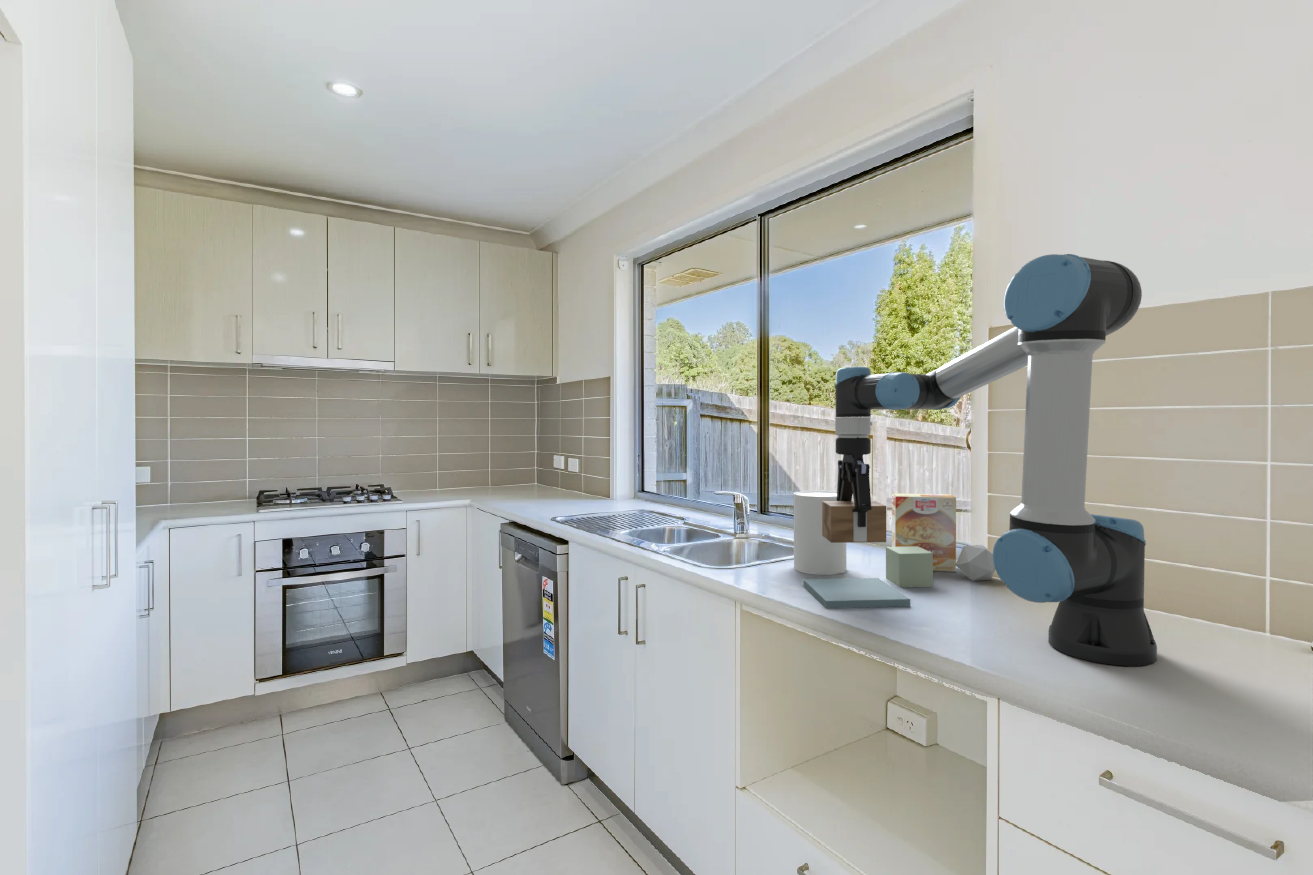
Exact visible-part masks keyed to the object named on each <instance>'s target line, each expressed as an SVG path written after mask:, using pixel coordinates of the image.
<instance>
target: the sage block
mask: <svg viewBox="0 0 1313 875" xmlns="http://www.w3.org/2000/svg"><path fill="white" fill-rule="evenodd" d="M885 579H886V580H887V581H888V582H890V583H891V584H894V585H895V586H896V587H898V588H917V587H920V588H921V587H925V588H926V587H928V588H929V587H933V586H934V585H933V583H934V580H933V579H934V571H933V553H931V552H929V551H927V550H925V549H923V548H920V547H918V546H907V547H892V546H885Z"/></svg>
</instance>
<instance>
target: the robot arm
mask: <svg viewBox="0 0 1313 875" xmlns="http://www.w3.org/2000/svg"><path fill="white" fill-rule="evenodd" d="M1142 294H1143V293H1142V287H1141V282H1140V280H1139V279H1138V277H1137V275H1136V274H1135V273H1134V272H1133V271H1132V270H1131V269H1129V268H1128V267H1127V266H1125V265H1123V264H1121V263H1119V262H1115V261H1110V260H1104V259H1103V260H1101V259H1095V258H1089V257H1085V256H1084V257H1083V256H1079V255H1076V254H1072V253H1067V254H1065V253H1064V254H1055V253H1054V254H1052V253H1051V254H1046V255H1042V256H1041V255H1040V256H1038V257H1036V258H1033V259H1032V260H1029V261H1028V262H1027V263H1025V264H1024V265H1023V266H1022V267H1021V268H1020V269H1019V270H1018V271H1017V273H1015V274H1014V275H1013V277H1012V278H1011V280H1010V281H1009V283H1008V285H1007V287H1006V290H1005V293H1004V297H1003V308H1004V309H1003V310H1004V313H1005V315H1006V317H1007V319H1008V320H1010V323H1011V324H1012V325H1013V326H1014V327H1011V328H1010V329H1008V330H1006V331H1004V332H1001V333H1000V334H999V335H997V336H995V337H993V338H992V339H990V340H988V341H986V342H984V343H982V344H981V345H977V346H976V347H975V348H973V349H971V350H968V351H967V352H965V353H964V354H961V355H959V356H958V357H956V358H954V359H952V360H951V361H949V362H947V363H944V364H943V365H941V366H940V367H938V368H936V369H934V370H932V371H930V372H928V373H925V374H923V373H909V372H901V371H898V372H897V371H893V372H892V371H891V372H888V373H879V374H871V368H869V367H867V366H849V367H848V366H847V367H846V366H845V367H840V368H838V369H837V370H836V373H835V385H834V390H835V392H834V393H835V396H834V397H835V417H834V420H835V421H834V422H835V423H834V427H835V428H834V433H835V435H836V436H837V437H836V439H835V453H836V454H837V455H843V457H842V459H838V461H837V470H838V471H837V472H838V473H837V487H836V492H837V501H854V505H855V509H853V510H852V512H853V541H854V542H857V543H868V542H867V512H868V510H871V501H872V499H871V498H872V497H871V496H872V495H871V485H870V484H871V483H870V481H871V480H870V468H871V466H870V464H869V463H865V462H864V461H865V460H864V456H865V455H869V454H871V452H872V451H871V450H872V448H871V446H872V444H871V441H872V440H871V438H870V437H869V435H871V426H872V425H873V421H871V417H872V416H871V415H872V413H871V412H872V410H883V411H884V410H890V411H897V410H932V411H933V410H935V411H939V410H943V409H951V407H954V406H955V405H956V404H957V403H958V401H959V400H960V398H961V397H963V396H965V395H967V394H969V393H971V392H973V391H975V390H978V389H980V388H982V387H984V386H986V385H989V384H991V383H993V382H996V381H998V380H1000V379H1002V378H1004V377H1006V376H1008V375H1010V374H1013V373H1014V372H1018V370H1021V369H1023V368H1025V367H1027V371H1026V373H1027V374H1026V390H1025V391H1026V394H1025V395H1026V396H1025V416H1024V439H1023V458H1022V480H1021V481H1022V483H1021V484H1022V485H1021V501H1020V503H1019V504H1018V505H1016V507H1015V508H1013V509H1011V511H1010V513H1009V525H1008V526H1009V529H1008V530H1006V531H1005V532H1004V533H1003V534H1001V536H1000V537H999V538H997V539H996V541H995V543H994V546H993V549H992V554H993V562H994V566H995V569H996V570H995V572H996V574H997V576H998V577H999V580H1001V581H1002V582H1003V583H1004V584H1005V585H1006V588H1007V589H1008V590H1009V591H1010V592H1012V593H1013V594H1014V595H1016V596H1017V597H1019V598H1021V599H1023V600H1024V601H1029V602H1032V603H1038V604H1041V603H1042V604H1043V603H1044V604H1045V603H1058V606H1057V608H1056V610H1055V612H1054V615H1053V618H1052V621H1051V624H1050V625H1049V627H1048V636H1047V637H1048V644H1049V645H1050V646H1051V647H1052V648H1054V649H1056V650H1057V651H1058V652H1061V653H1062V654H1063V653H1064V654H1065V655H1069V656H1072V657H1074V658H1077V659H1081V660H1084V661H1085V660H1086V661H1090V662H1093V663H1100V664H1104V665H1113V666H1125V667H1126V666H1129V667H1137V666H1146V665H1152V664H1153V663H1155V662H1156V661H1157V660H1158V646H1157V642H1156V640H1155V639H1154V635H1153V632H1152V629H1151V626H1150V624H1149V621H1148V617H1147V614H1146V612H1145V606H1144V605H1145V602H1144V601H1145V560H1146V559H1145V552H1146V550H1145V549H1146V545H1147V543H1146V542H1147V541H1146V539H1145V529H1144V525H1143V524H1142V523H1141V522H1140V521H1139V520H1136V519H1131V518H1123V517H1118V516H1117V517H1116V516H1115V517H1114V516H1109V515H1100V514H1092V513H1089V512H1088V511H1087V510H1086V507H1085V504H1086V503H1085V501H1086V485H1087V482H1086V480H1087V467H1088V465H1087V464H1088V446H1089V428H1090V425H1089V424H1090V411H1091V390H1092V372H1093V371H1092V370H1093V355H1094V353H1095V352H1096V351H1098V350H1099V349H1100V348H1101V347H1102V346H1104V344H1106V336H1108V335H1111V334H1113V333H1115V332H1117V331H1118V330H1120V329H1121V328H1123V327H1124V326H1125V325H1127V324H1128V323H1130V321H1131V320H1132V319H1133V317H1134V316H1135V315H1136V313H1137V312H1138V310H1139V307H1140V305H1141V304H1142V303H1141V302H1142V297H1143V295H1142ZM852 499H853V500H852ZM862 504H863V505H862Z"/></svg>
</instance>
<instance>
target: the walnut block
mask: <svg viewBox="0 0 1313 875" xmlns="http://www.w3.org/2000/svg"><path fill="white" fill-rule="evenodd" d="M862 505H863V504H862ZM853 509H855V505H854V500H852V501H822V536H823V537H825V538H826V539H827V540H828V541H830V542H831V543H846V544H849V543H855V544H856V543H857V544H858V542H854V541H853V512H852V510H853ZM866 543H887V505H885V504H882V503H881V502H878V501H876V500H871V510H868V512H867V542H866Z"/></svg>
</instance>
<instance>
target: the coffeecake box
mask: <svg viewBox="0 0 1313 875" xmlns="http://www.w3.org/2000/svg"><path fill="white" fill-rule="evenodd" d="M891 494H892V495H891V510H892V511H891V547H907V546H918V547H920V548H923V549H925V550H927V551H929V552H931V553H933V572H948V573H949V572H951V573H956V572H957V571H956V569H957V566H956V563H957V496H955V495H953V494H951V493H902V492H900V493H894V492H893V493H891Z"/></svg>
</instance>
